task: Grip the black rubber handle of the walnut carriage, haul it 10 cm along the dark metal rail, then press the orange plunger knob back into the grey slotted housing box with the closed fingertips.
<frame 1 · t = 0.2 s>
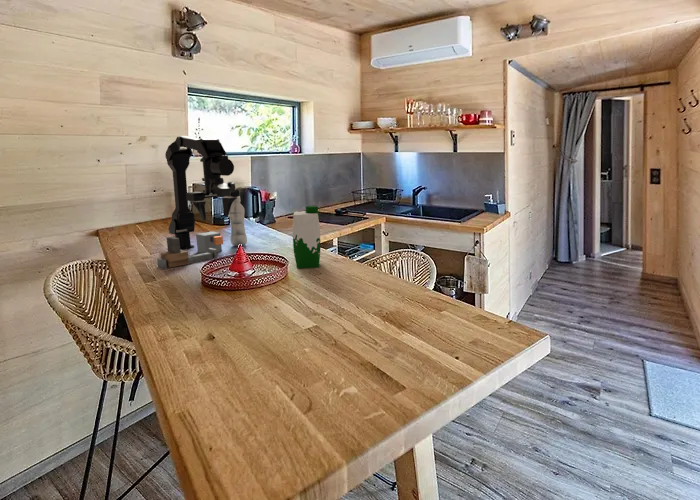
hand: (215, 218, 169), 14 cm above the breakfast bar, tool pointing down, fingers open, 9 cm apart
plastic bottle: (239, 246, 192), on the breakfast bar
plunger: (214, 239, 180), point 5 cm above the breakfast bar, slide at 0.0 cm
rail: (188, 262, 166), on the breakfast bar
grey slotted housing box: (209, 251, 184), on the breakfast bar
carriage: (174, 251, 161), point 5 cm above the breakfast bar, slide at 0.0 cm
milk carton: (307, 266, 158), on the breakfast bar
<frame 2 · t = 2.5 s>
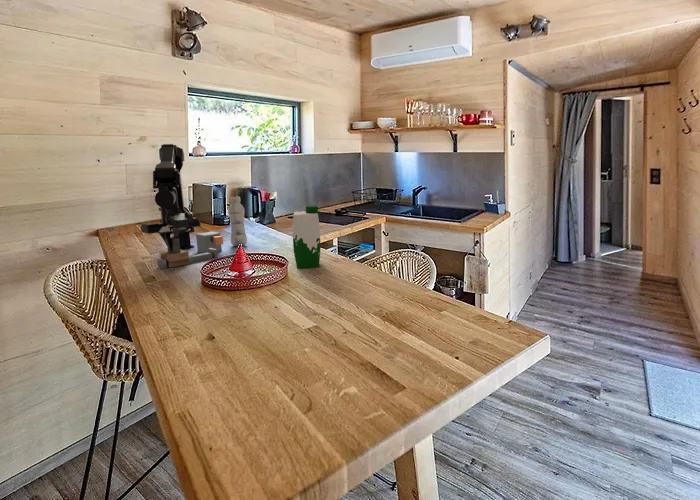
hand: (174, 249, 161), 6 cm above the breakfast bar, tool pointing down, fingers closed on carriage, 2 cm apart
carriage: (174, 251, 161), point 5 cm above the breakfast bar, slide at 0.0 cm, touching gripper
everything else where it was.
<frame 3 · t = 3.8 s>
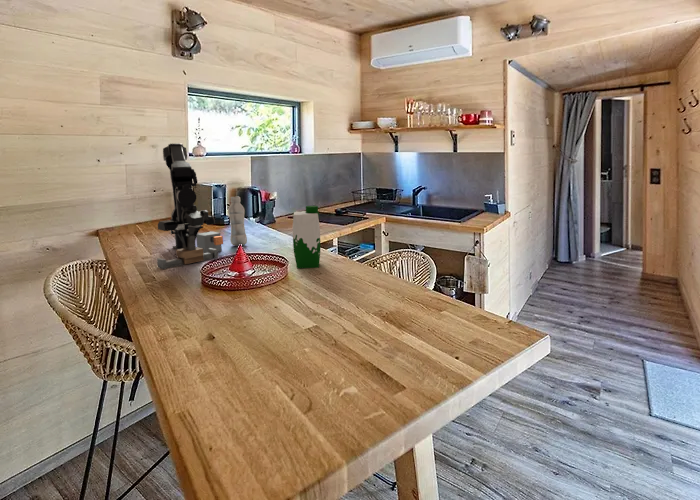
hand: (189, 247, 165), 6 cm above the breakfast bar, tool pointing down, fingers closed on carriage, 2 cm apart
carriage: (189, 248, 165), point 5 cm above the breakfast bar, slide at 5.8 cm, touching gripper
everything else where it was.
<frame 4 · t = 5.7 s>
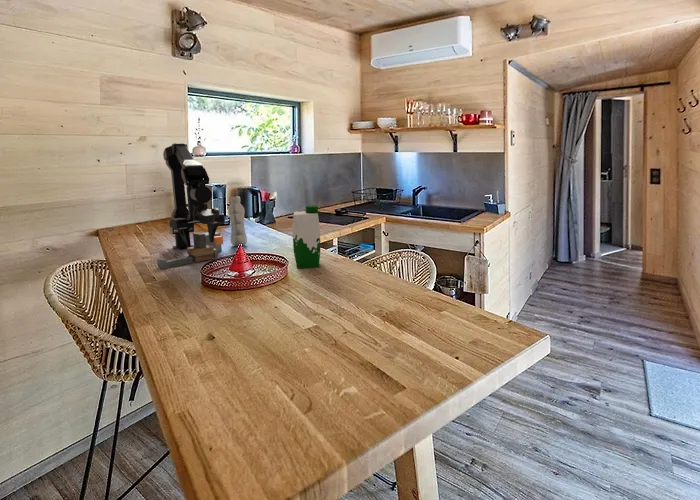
hand: (200, 244, 168), 6 cm above the breakfast bar, tool pointing down, fingers open, 9 cm apart
carriage: (200, 246, 168), point 5 cm above the breakfast bar, slide at 9.9 cm
everything else where it was.
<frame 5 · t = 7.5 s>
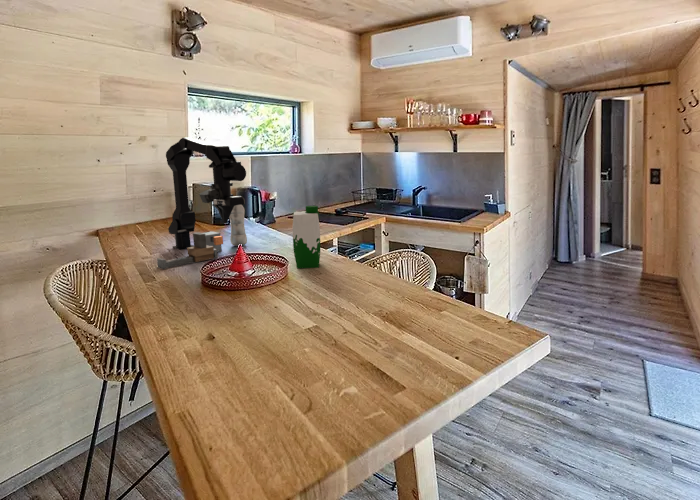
hand: (225, 223, 173), 12 cm above the breakfast bar, tool pointing down, fingers closed
nothing on the breakfast bar moved.
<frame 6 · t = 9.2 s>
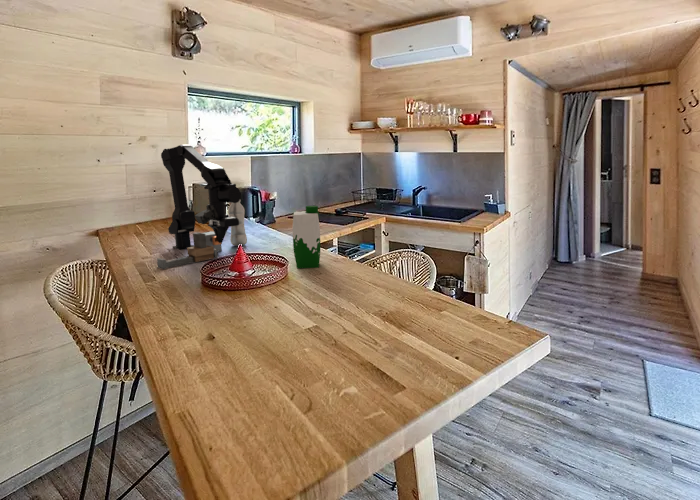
hand: (220, 242, 177), 4 cm above the breakfast bar, tool pointing down, fingers closed
plunger: (213, 239, 180), point 5 cm above the breakfast bar, slide at 0.8 cm, touching gripper
everything else where it was.
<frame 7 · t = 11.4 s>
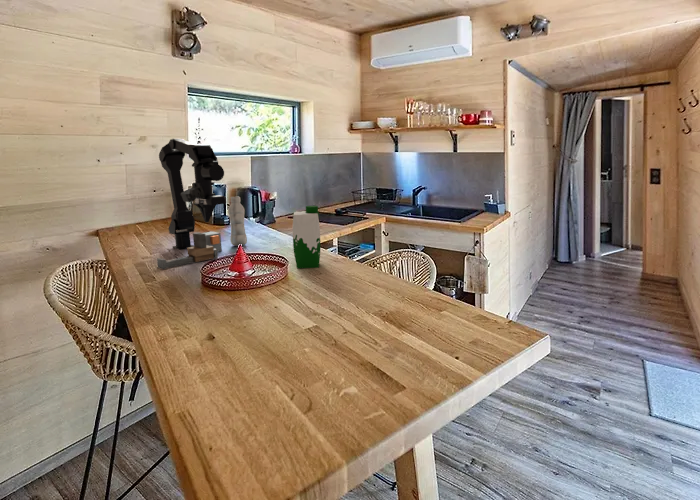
hand: (206, 222, 173), 13 cm above the breakfast bar, tool pointing down, fingers closed
plunger: (211, 239, 181), point 5 cm above the breakfast bar, slide at 2.3 cm
everything else where it was.
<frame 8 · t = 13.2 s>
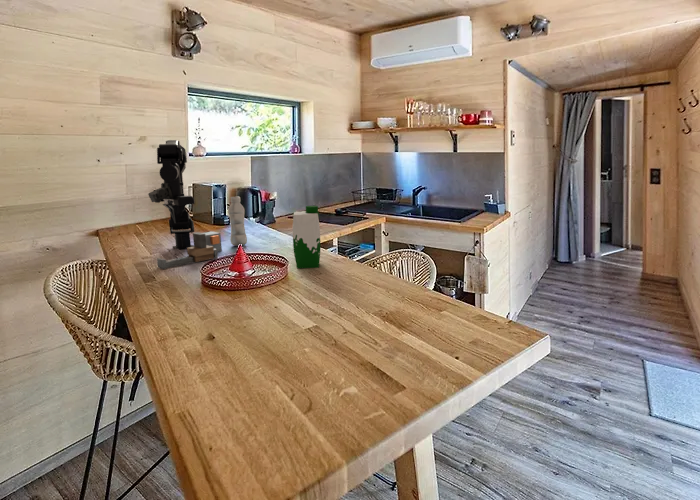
hand: (176, 222, 171), 13 cm above the breakfast bar, tool pointing down, fingers closed
nothing on the breakfast bar moved.
at the end: carriage slide at 9.9 cm; plunger slide at 2.3 cm; the gripper is holding nothing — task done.
